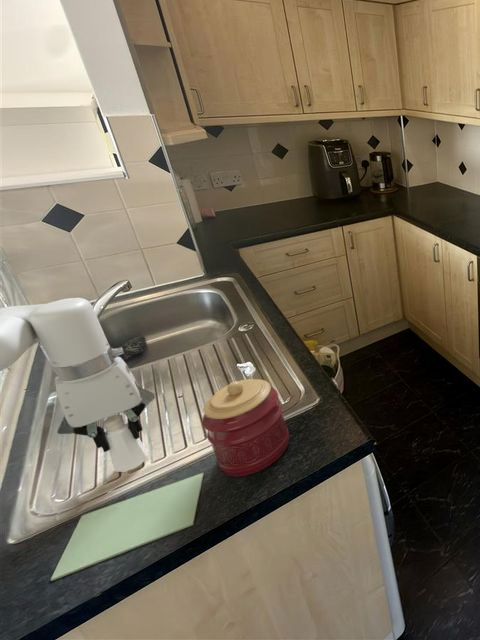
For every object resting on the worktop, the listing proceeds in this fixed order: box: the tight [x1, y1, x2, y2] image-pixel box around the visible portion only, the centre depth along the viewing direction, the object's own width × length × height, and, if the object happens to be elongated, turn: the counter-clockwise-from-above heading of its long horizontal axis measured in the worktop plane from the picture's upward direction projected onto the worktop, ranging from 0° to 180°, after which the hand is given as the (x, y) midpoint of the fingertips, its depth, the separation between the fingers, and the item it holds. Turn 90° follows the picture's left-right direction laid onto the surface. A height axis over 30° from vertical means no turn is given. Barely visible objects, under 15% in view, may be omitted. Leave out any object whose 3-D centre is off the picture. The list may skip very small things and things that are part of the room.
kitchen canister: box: [201, 378, 290, 478], centre depth 82 cm, size 13×13×18 cm
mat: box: [50, 472, 205, 582], centre depth 71 cm, size 18×12×1 cm, turn 119°
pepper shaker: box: [102, 414, 149, 473], centre depth 81 cm, size 5×5×11 cm
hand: (122, 440), depth 81 cm, fingers closed on pepper shaker, 3 cm apart
